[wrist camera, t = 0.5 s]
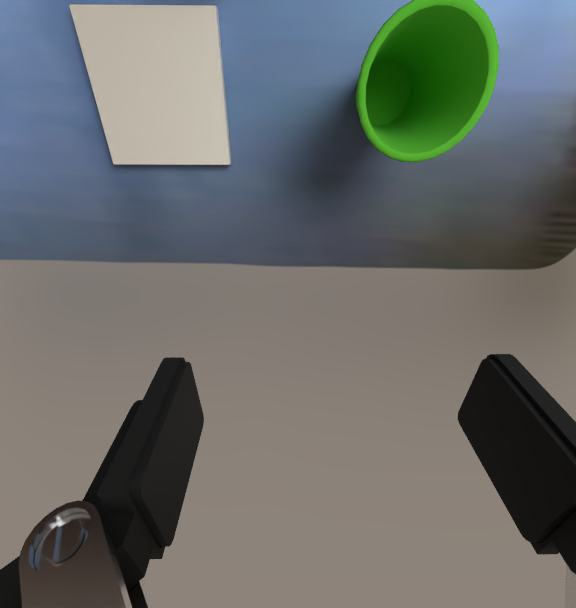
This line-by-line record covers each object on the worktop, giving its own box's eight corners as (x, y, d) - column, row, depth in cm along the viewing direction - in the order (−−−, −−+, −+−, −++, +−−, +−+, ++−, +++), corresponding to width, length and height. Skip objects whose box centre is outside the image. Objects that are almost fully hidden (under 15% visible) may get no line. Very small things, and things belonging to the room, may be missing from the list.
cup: (347, 161, 32) (372, 181, 23) (323, 58, 28) (343, 30, 18) (433, 128, 31) (499, 135, 21) (424, 13, 26) (502, -43, 17)
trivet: (76, 8, 26) (69, 4, 25) (217, 9, 26) (215, 5, 25) (118, 163, 32) (113, 164, 31) (231, 163, 32) (230, 164, 31)
